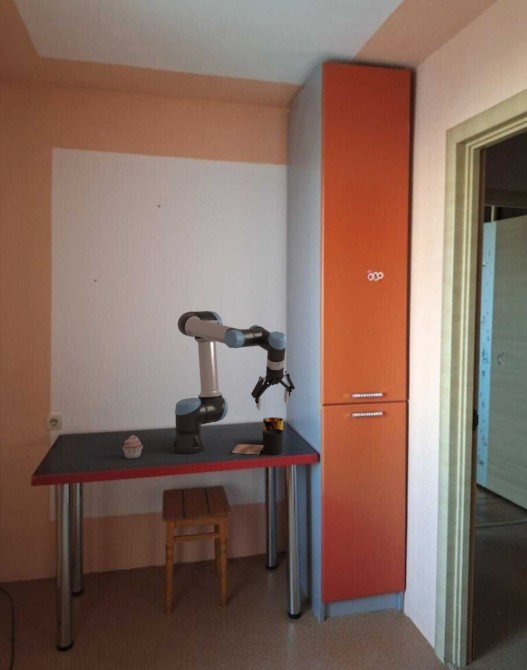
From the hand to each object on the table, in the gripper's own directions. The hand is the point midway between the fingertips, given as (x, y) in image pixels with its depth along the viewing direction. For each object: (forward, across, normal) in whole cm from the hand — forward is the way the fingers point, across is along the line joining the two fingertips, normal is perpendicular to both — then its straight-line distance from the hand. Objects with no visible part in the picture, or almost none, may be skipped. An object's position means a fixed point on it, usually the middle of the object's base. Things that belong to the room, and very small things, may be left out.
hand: (272, 405), depth 227 cm
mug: (+26, +4, +1) cm, 27 cm away
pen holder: (+21, -2, -9) cm, 23 cm away
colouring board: (+23, -11, -2) cm, 25 cm away
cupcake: (+22, -62, +12) cm, 67 cm away
